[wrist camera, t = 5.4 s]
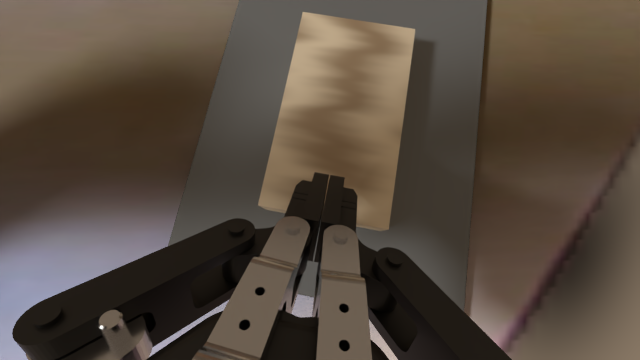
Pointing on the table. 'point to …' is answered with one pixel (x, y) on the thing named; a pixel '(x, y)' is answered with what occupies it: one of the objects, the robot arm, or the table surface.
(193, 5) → the table surface
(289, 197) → the wooden block
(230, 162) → the mat
